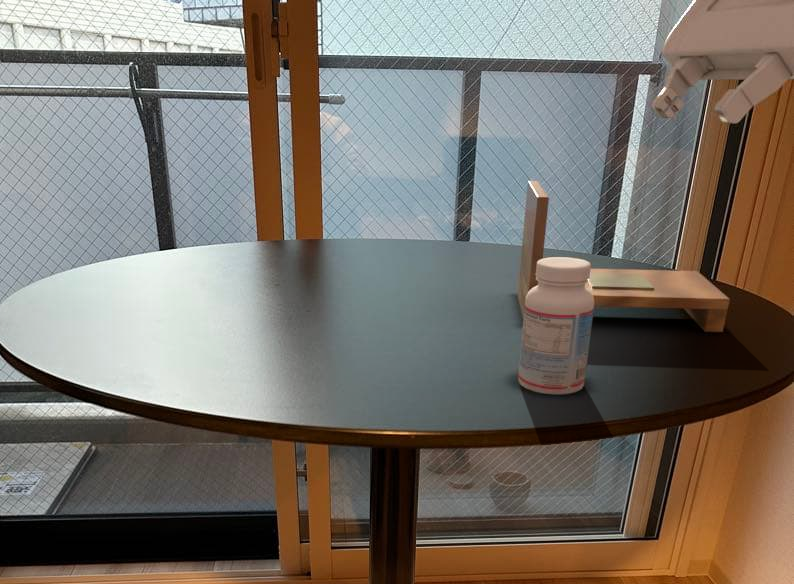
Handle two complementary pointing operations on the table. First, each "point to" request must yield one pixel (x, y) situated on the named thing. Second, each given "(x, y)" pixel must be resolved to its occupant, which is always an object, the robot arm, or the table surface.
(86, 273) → the table surface
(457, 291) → the table surface
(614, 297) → the shelf
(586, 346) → the pill bottle
